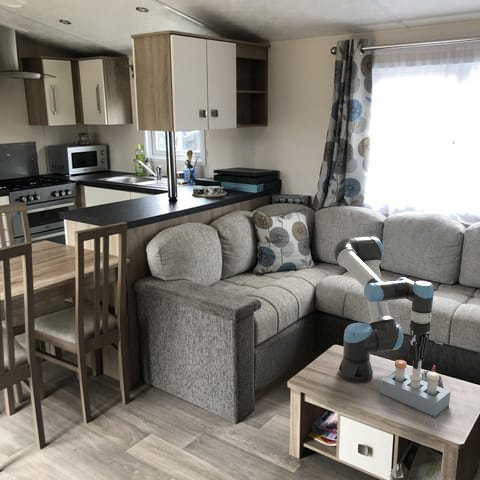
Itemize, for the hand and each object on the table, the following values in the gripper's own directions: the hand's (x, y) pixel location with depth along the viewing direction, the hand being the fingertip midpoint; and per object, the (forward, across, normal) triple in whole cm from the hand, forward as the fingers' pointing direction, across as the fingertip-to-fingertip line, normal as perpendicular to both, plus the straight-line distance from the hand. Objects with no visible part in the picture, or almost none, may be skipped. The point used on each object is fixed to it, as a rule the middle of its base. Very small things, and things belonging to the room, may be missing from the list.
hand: (416, 374), depth 204 cm
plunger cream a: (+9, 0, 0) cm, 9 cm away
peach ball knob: (+6, 0, +7) cm, 9 cm away
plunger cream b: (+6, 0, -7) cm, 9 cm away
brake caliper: (+12, +14, 0) cm, 19 cm away
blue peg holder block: (+12, 0, 0) cm, 12 cm away
